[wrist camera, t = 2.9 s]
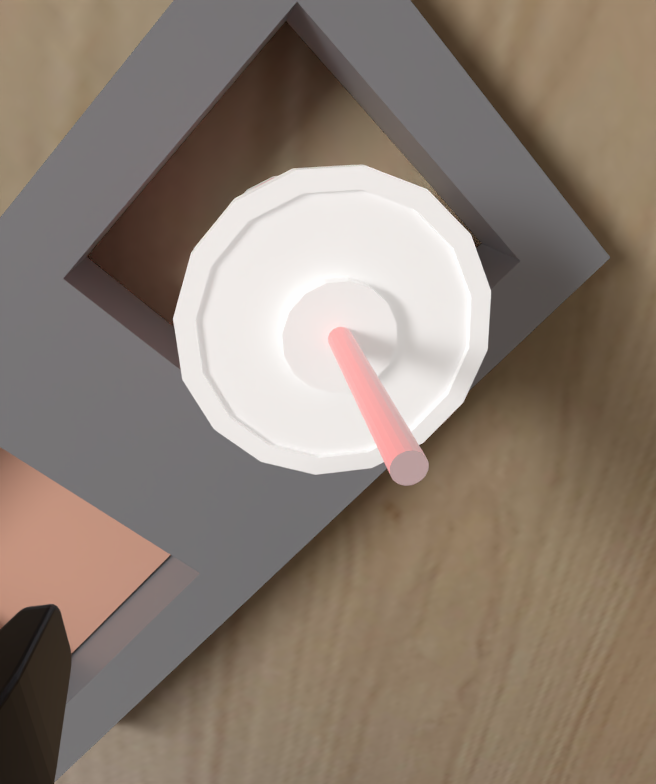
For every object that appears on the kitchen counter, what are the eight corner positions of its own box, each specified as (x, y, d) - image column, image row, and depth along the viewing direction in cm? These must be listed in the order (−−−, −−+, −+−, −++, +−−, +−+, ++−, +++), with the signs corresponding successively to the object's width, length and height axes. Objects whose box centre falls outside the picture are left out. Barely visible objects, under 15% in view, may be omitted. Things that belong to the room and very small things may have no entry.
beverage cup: (401, 163, 19) (735, 235, 7) (368, 347, 22) (569, 664, 9) (202, 131, 18) (146, 147, 5) (189, 330, 20) (128, 667, 8)
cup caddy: (282, -104, 16) (293, -150, 14) (560, 240, 21) (610, 257, 18) (-257, 563, 21) (-328, 627, 19) (68, 717, 26) (50, 785, 23)
